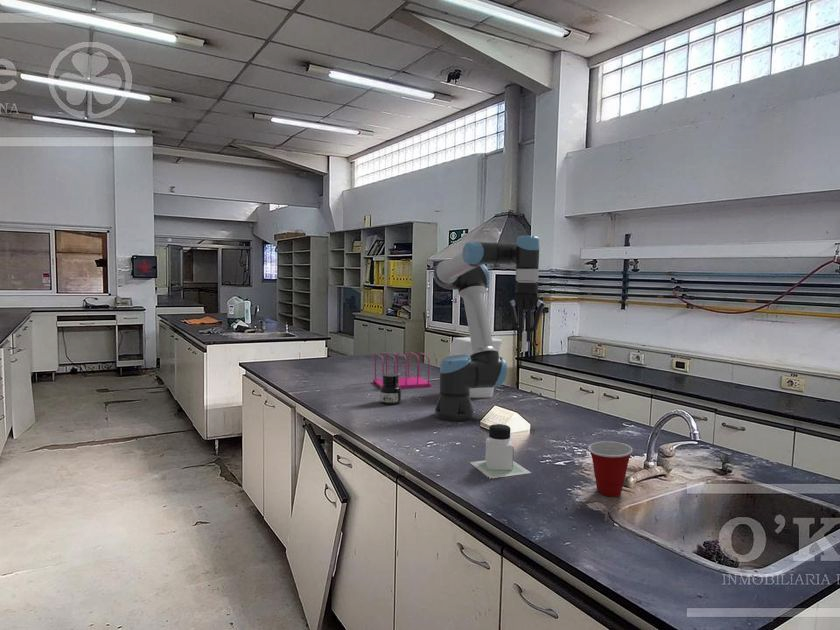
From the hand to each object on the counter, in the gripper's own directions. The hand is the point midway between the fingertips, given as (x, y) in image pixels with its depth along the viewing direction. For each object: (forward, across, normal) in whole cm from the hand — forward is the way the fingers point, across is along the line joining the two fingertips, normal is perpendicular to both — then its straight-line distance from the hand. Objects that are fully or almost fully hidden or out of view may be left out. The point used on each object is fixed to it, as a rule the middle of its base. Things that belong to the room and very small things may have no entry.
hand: (524, 350), depth 183 cm
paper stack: (+30, +38, -51) cm, 70 cm away
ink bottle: (+30, +62, -19) cm, 71 cm away
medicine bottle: (+30, -2, +33) cm, 44 cm away
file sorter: (+30, +75, -54) cm, 97 cm away
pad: (+29, -2, +34) cm, 45 cm away
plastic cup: (+30, -32, +38) cm, 58 cm away
